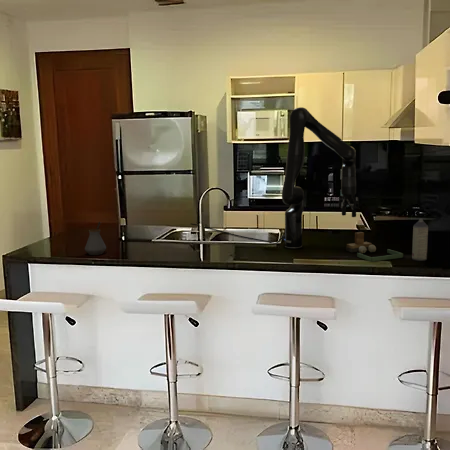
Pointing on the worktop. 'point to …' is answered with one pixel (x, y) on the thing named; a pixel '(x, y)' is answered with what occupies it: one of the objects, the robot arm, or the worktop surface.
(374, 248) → the paper ball
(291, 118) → the robot arm
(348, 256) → the worktop surface
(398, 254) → the corral
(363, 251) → the paper ball
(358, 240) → the brown t-shaped block
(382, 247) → the worktop surface
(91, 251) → the coffee pot
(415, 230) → the aerosol can
